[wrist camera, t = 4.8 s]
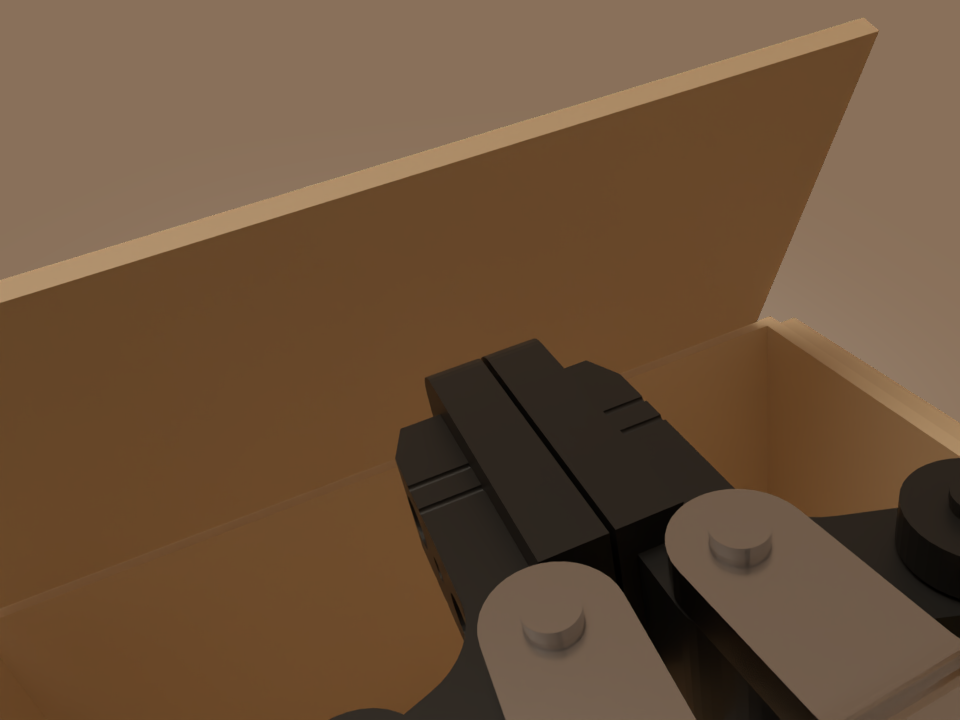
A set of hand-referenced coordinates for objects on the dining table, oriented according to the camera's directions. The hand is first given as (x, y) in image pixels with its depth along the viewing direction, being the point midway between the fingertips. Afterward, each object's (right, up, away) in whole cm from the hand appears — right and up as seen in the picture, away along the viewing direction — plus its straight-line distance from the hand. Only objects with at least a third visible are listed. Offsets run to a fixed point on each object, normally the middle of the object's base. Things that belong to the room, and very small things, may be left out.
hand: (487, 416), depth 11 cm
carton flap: (-2, +1, +8) cm, 8 cm away
